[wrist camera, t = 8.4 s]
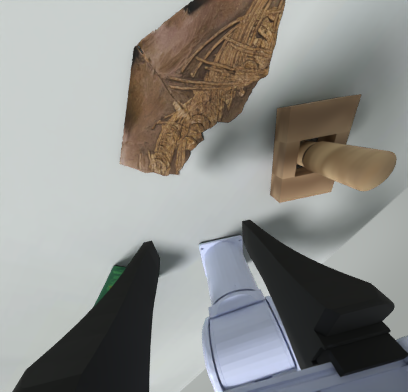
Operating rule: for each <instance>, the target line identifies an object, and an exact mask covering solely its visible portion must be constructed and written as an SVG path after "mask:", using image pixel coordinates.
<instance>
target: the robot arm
mask: <svg viewBox="0 0 408 392" xmlns="http://www.w3.org/2000/svg"><path fill="white" fill-rule="evenodd" d="M242 229H243V239H242V236H241V235H238V236H233V237H229V238H224V239H219V240H215V241H210V242H206V243H201V244H199V249H200V253H201V258H202V262H203V266H204V270H205V274H206V277H207V280H208V286H209V292H210V298H211V304H212V306H211V307H209V315H210V316H209V317H207V318H206V319H205V322H204V325H203V329H202V345H203V353H204V359H205V364H206V369H207V372H208V375H209V378H210V381H211V383H212V385H213V388H214V391H215V392H408V336H404V337H402V338H399V339H397V340H395V339H394V338H393V337H392V336H391V335H390V334H389V332H390V329H389V328H388V327H387V326H386V325H385V324H384V323H383V322H382V321H383V320H384V319H385V318H386V317H387V316H388V315H389V314H390V313H391V312H392V311H393V310H394V303H393V302H392V301H391V300H390V299H388V298H387V297H386V296H385V295H384V294H383V293H381V292H380V291H379V290H378V289H377V288H376V287H375V286H373V285H372V284H371V283H368V282H365V281H363V280H360V279H358V278H355V277H352V276H349V275H347V274H344V273H341V272H339V271H337V270H334V269H331V268H329V267H327V266H324V265H323V264H320V263H318V262H316V261H314V260H312V259H310V258H308V257H306V256H304V255H302V254H300V253H298V252H296V251H295V250H293V249H291V248H289V247H288V246H286V245H284V244H283V243H281V242H280V241H278V240H277V239H275V238H274V237H272V236H271V235H269V234H268V233H267V232H265V231H264V230H263V229H261V228H260V227H259V226H257V225H256V224H255V223H253V222H252V221H251V220H246V221H242ZM243 242H244V244H245V246H246V249H247V251H248V253H249V255H250V257H251V259H252V260H253V262H254V264H255V266H256V268H257V269H258V271H259V273H260V275H261V277H262V278H263V280H264V282H265V284H266V287H267V289H268V291H269V293H270V296H271V297H270V296H266V297H265V298H264V296H263V293H262V291H261V290H260V289H259V288H258V286H257V284H256V282H255V280H254V278H253V275H252V273H251V271H250V269H249V267H248V264H247V262H246V260H245V258H244V256H243ZM159 268H160V257H159V255H158V253H157V251H156V249H155V247H154V244H153V242H152V241H149V242H144V243H143V245H142V246H141V247H140V249H139V250H138V252H137V253H136V255H135V256H134V258H133V259H132V261H131V262H130V263H129V265H128V266H127V268H126V269H125V270H124V272H123V273H122V274H121V276H120V277H119V278H118V280H117V281H116V282H115V283H114V285H113V286H112V287H111V288H110V289H109V291H108V292H107V293H106V294H105V295H104V296H103V297H102V299H101V300H100V301H99V302H98V303H97V304H96V305H95V306H94V307H93V308H92V309H91V310H90V311H89V312H88V313H87V314H86V316H85V317H84V318H83V319H82V320H81V321H80V322H79V323H78V324H76V325H75V326H74V327H73V328H72V329H71V330H70V331H69V332H68V333H67V334H66V335H65V336H64V337H63V338H62V339H61V340H59V341H58V342H57V343H56V344H55V345H54V346H53V347H52V348H51V349H49V350H48V351H47V352H46V353H45V354H44V355H43V356H41V357H40V358H39V359H38V360H37V361H36V362H35V363H33V364H32V365H31V366H30V367H29V368H27V369H26V371H25V372H24V374H23V375H22V377H21V379H20V380H19V382H18V384H17V385H16V387H15V388H14V390H13V392H149V370H150V345H151V329H152V316H153V307H154V300H155V295H156V289H157V283H158V277H159ZM265 299H266V300H265Z"/></svg>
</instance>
